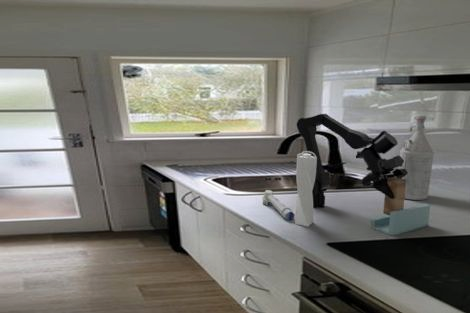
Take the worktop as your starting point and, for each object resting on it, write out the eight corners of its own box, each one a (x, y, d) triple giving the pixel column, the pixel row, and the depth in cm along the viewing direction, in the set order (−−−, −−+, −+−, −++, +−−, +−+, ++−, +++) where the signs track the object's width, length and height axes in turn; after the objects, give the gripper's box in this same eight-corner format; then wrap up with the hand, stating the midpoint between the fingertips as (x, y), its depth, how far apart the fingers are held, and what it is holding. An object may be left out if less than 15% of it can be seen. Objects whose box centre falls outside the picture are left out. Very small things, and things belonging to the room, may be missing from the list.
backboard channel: (370, 226, 120) (372, 206, 119) (405, 218, 129) (407, 198, 128) (392, 235, 112) (394, 213, 111) (428, 225, 121) (430, 205, 120)
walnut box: (383, 213, 118) (386, 178, 116) (391, 211, 120) (394, 177, 118) (394, 217, 114) (397, 181, 112) (402, 215, 116) (406, 179, 114)
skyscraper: (309, 228, 118) (313, 152, 114) (290, 224, 122) (293, 150, 118) (316, 221, 125) (320, 149, 120) (298, 218, 129) (301, 147, 124)
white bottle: (388, 195, 160) (395, 114, 154) (410, 191, 168) (417, 113, 162) (412, 202, 149) (421, 115, 143) (435, 197, 158) (444, 114, 151)
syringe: (284, 212, 125) (261, 187, 148) (282, 227, 127) (260, 200, 150) (296, 210, 126) (271, 186, 149) (295, 226, 128) (270, 199, 151)
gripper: (370, 150, 112) (396, 188, 105) (405, 146, 121) (432, 182, 113) (351, 168, 120) (374, 205, 113) (385, 164, 129) (408, 198, 121)
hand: (398, 197), depth 115 cm, fingers closed on walnut box, 4 cm apart
